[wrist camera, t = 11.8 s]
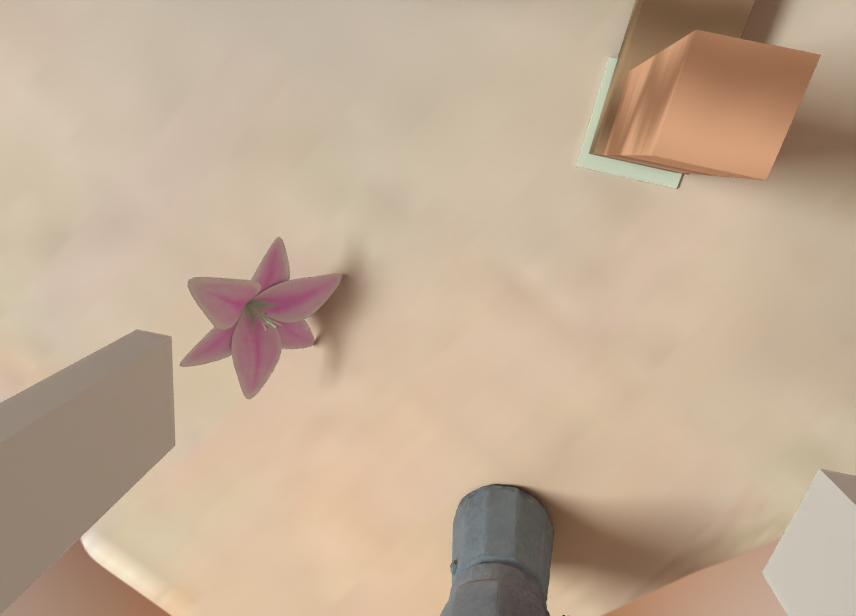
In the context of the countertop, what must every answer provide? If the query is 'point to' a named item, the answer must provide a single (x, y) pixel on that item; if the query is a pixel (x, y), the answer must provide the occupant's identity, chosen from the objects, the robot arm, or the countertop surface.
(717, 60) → the wooden pillar on base
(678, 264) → the countertop surface
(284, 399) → the countertop surface
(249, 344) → the lily
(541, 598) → the moka pot
